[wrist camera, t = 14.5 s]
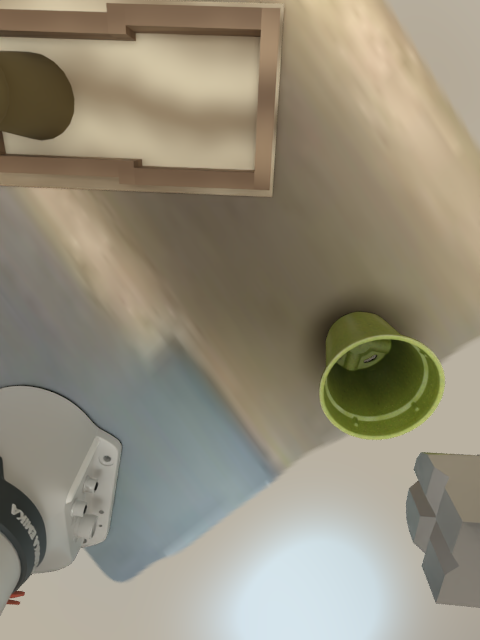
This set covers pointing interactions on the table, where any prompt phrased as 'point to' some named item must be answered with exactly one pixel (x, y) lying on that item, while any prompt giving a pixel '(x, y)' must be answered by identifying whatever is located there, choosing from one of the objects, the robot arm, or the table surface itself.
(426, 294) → the table surface
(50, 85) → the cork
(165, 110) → the wooden tray
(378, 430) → the plant pot
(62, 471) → the robot arm
